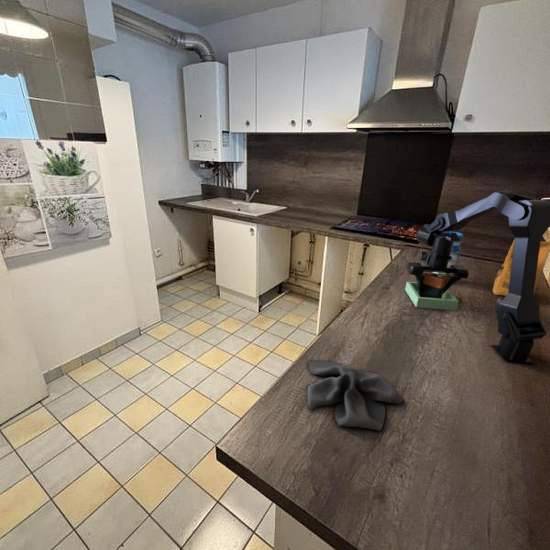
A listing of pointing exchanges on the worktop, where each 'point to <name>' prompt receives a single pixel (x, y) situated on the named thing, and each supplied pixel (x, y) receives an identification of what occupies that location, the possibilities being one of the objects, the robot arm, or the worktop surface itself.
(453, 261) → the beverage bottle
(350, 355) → the worktop surface
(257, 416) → the worktop surface
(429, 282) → the battery
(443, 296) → the tray
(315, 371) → the cloth
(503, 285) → the coffee package
